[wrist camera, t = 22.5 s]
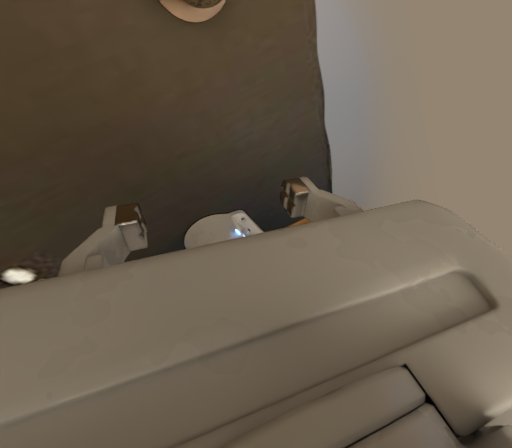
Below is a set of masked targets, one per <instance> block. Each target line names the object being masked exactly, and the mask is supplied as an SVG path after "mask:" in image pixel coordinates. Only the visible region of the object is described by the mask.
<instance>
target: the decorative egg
mask: <svg viewBox="0 0 512 448" xmlns="http://www.w3.org/2000/svg"><path fill="white" fill-rule="evenodd" d="M183 1H185V2H186V3H187V4H189V5H191V6H193V7H197V8H202V9H203V8H210V7H213V6H215V5H217V4H219V3H220V2H221V1H222V0H183Z"/></svg>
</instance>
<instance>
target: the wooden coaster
mask: <svg viewBox="0 0 512 448" xmlns="http://www.w3.org/2000/svg"><path fill="white" fill-rule="evenodd" d="M159 1H160V3H161V4H162V5H163V6H164V7H165V8H166V9H167V10H168V11H169V12H170V13H172V14H173V15H175V16H176V17H178V18H180V19H182V20H185V21H188V22H203V21H206V20H209V19H210V18H212V17H214V16H215V15H216V14H217V13H218V12H219V11H220V10H221V8H222V7H223V5H224V4H225V2H226V0H222V1H221V2H220V3H219V4H217V5H215V6H213V7H210V8H203V9H202V8H197V7H193V6H191V5H189V4H187V3H186V2H185V1H183V0H159Z"/></svg>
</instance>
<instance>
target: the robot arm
mask: <svg viewBox="0 0 512 448" xmlns="http://www.w3.org/2000/svg"><path fill="white" fill-rule="evenodd" d="M281 187H282V188H283V190H282V191H281V192H280V201H281V204H282V205H283V207H285V208H287V213H288V214H289V216H290V217H291V218H294V217H300V216H304V217H305V218H307V219H309V220H310V221H312V222H310V223H305V224H300V225H296V226H291V227H286V228H282V229H277V230H272V231H268V232H263V231H262V230H261V229H260V228H259V227H258V226H257V225H256V223H255V222H254V221H253V220H252V219H251V218H250V217H249V216H248V215H247V214H246V213H245V212H244V211H242V210H237V211H234V212H231V213H228V214H216V215H211V216H208V217H205V218H203V219H201V220H199V221H197V222H196V223H195V224H193V225H192V226H191V227H190V228H189V230H188V231H187V233H186V235H185V239H184V245H185V248H186V249H184V250H179V251H175V252H170V253H165V254H161V255H156V256H151V257H147V258H142V259H138V260H133V261H128V262H124V260H125V259H126V257H127V256H128V255H129V253H130V251H134V250H138V249H142V248H147V236H146V233H147V227H146V222H145V218H144V216H143V215H142V214H141V207H140V204H139V203H132V204H125V205H118V206H111V207H106V208H105V212H104V218H103V224H102V228H99V229H97V230H96V231H95V232H94V233H93V234H92V235H91V236H90V237H88V238H87V239H86V240H85V241H84V242H83V243H82V244H81V245H79V246H78V247H77V248H76V249H75V250H74V251H73V252H72V253H70V254H69V255H68V256H67V257H66V258H65V259H64V260H63V261H62V264H61V268H60V271H59V274H58V277H54V278H49V279H45V280H40V281H35V282H31V283H26V284H21V285H17V286H12V287H7V288H3V289H0V448H512V258H511V257H510V256H509V255H507V254H506V253H505V252H504V251H502V250H501V249H500V248H499V247H498V246H496V245H495V244H494V243H492V242H491V241H490V240H489V239H488V238H486V237H485V236H484V235H483V234H481V233H480V232H479V231H477V230H476V229H475V228H473V227H472V226H471V225H470V224H468V223H467V222H465V221H464V220H463V219H462V218H460V217H459V216H458V215H456V214H455V213H453V212H451V211H450V210H448V209H446V208H443V207H441V206H438V205H435V204H432V203H428V202H425V201H422V200H412V201H407V202H402V203H398V204H393V205H389V206H384V207H380V208H375V209H370V210H366V211H363V210H362V209H361V208H360V207H359V206H358V205H357V204H356V203H355V202H352V201H350V200H347V199H345V198H342V197H339V196H337V195H334V194H331V193H329V192H326V191H323V190H319V189H318V188H317V187H316V186H315V185H314V184H313V183H312V182H311V181H310V180H309V179H308V178H307V177H299V178H295V179H289V180H283V182H282V185H281ZM241 218H242V219H241ZM123 262H124V263H123Z"/></svg>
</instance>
